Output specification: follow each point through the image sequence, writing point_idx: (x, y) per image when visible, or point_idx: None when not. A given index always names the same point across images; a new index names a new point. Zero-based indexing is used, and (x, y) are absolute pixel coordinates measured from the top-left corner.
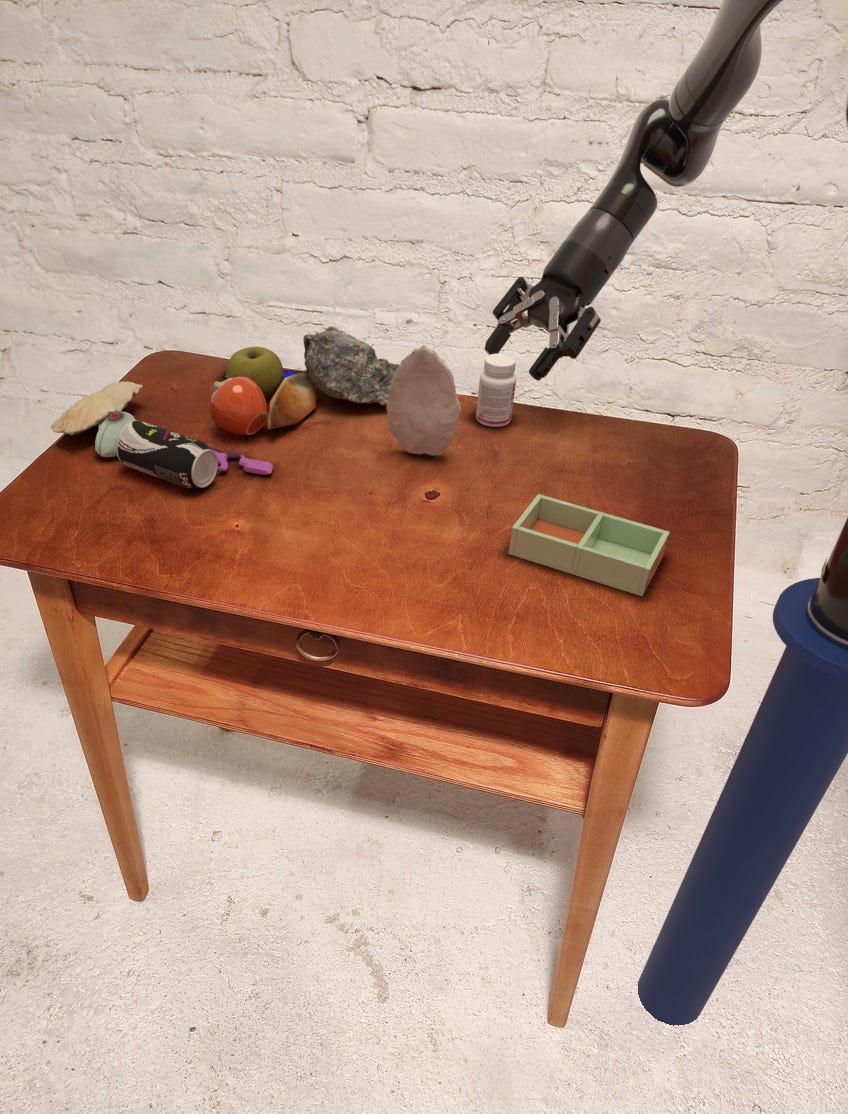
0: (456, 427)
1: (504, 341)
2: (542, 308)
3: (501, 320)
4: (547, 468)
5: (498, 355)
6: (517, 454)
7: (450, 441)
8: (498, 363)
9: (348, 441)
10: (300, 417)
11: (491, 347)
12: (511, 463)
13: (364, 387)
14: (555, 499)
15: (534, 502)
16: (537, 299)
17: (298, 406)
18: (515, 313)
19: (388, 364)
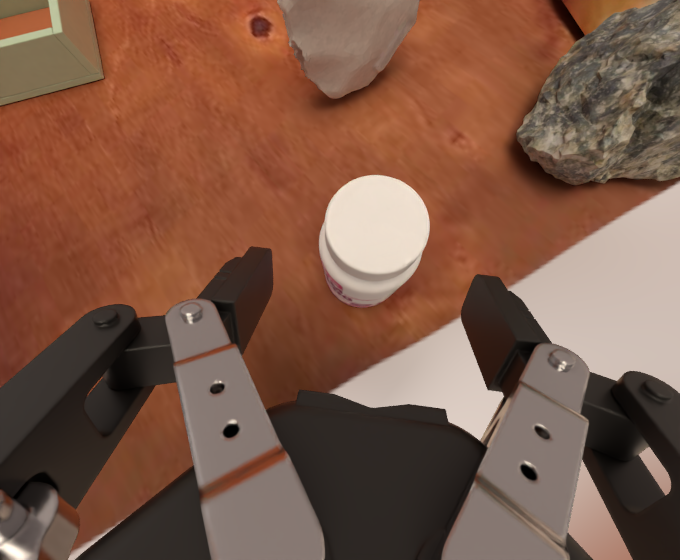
0: (289, 40)
1: (479, 352)
2: (391, 491)
3: (557, 349)
4: (171, 206)
5: (404, 241)
6: (240, 205)
7: (300, 63)
8: (360, 195)
9: (468, 39)
10: (572, 6)
11: (478, 288)
12: (229, 174)
13: (575, 69)
14: (28, 37)
15: (53, 9)
16: (470, 516)
17: (601, 2)
18: (524, 382)
19: (620, 112)
